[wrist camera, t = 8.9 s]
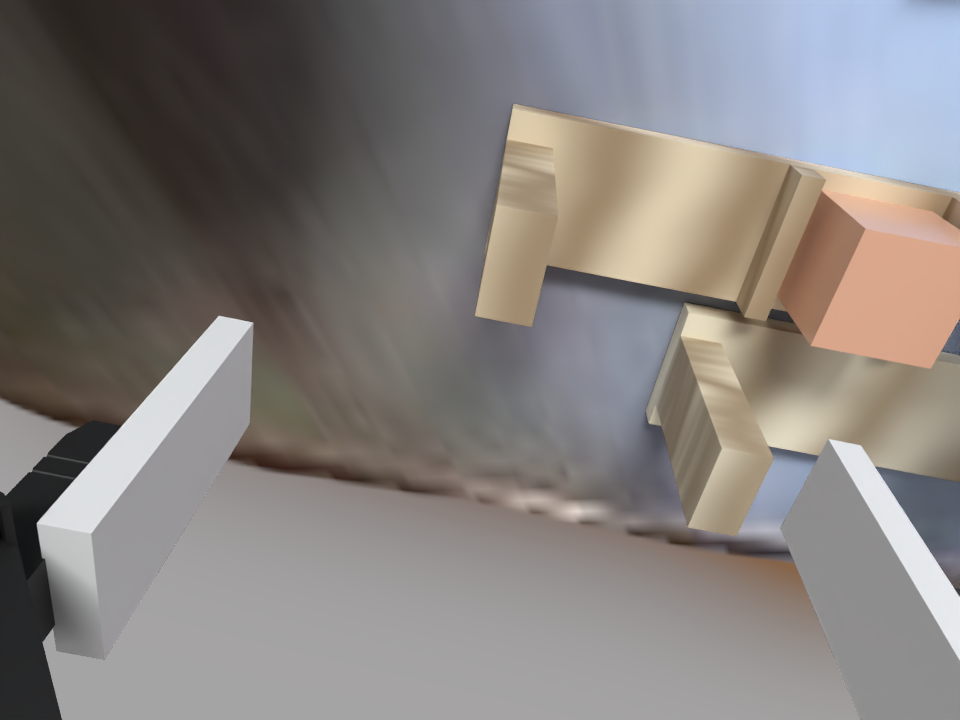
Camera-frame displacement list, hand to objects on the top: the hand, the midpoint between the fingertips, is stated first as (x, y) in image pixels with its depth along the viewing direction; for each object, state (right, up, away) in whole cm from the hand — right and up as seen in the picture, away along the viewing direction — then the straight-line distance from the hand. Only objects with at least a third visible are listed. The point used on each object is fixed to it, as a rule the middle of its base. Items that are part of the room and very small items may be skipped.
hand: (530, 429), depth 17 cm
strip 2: (+18, 0, +21) cm, 27 cm away
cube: (+15, +6, +16) cm, 23 cm away
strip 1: (+10, +8, +17) cm, 21 cm away
